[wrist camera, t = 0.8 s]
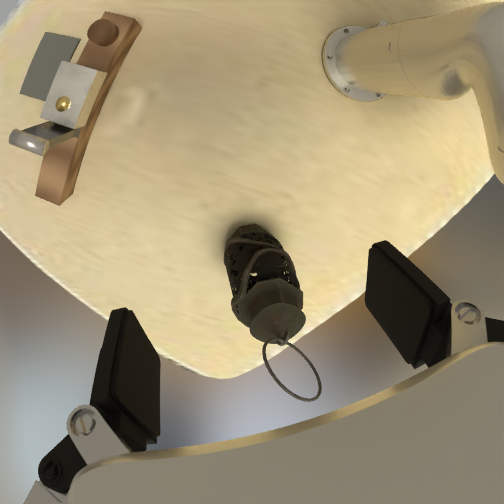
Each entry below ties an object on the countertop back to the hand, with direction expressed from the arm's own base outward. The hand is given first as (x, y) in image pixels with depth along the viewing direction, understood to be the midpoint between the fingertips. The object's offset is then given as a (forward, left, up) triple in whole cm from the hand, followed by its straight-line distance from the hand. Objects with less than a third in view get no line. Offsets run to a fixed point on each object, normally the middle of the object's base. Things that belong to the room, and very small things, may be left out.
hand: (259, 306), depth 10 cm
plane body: (+1, -20, -32) cm, 37 cm away
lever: (+3, -20, -26) cm, 32 cm away
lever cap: (-1, -20, -27) cm, 33 cm away
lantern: (+11, +12, -32) cm, 36 cm away
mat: (-3, -29, -32) cm, 43 cm away
